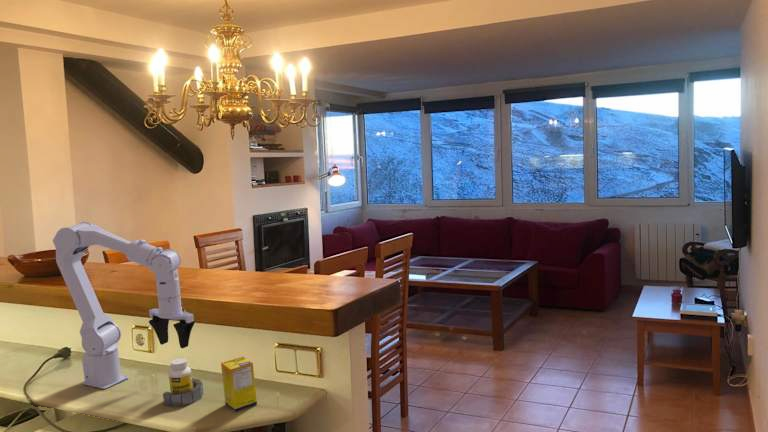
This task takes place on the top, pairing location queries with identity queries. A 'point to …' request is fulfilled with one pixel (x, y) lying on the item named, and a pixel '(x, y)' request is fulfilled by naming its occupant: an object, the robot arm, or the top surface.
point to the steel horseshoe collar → (184, 395)
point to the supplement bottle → (180, 376)
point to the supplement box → (239, 383)
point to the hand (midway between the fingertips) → (174, 345)
